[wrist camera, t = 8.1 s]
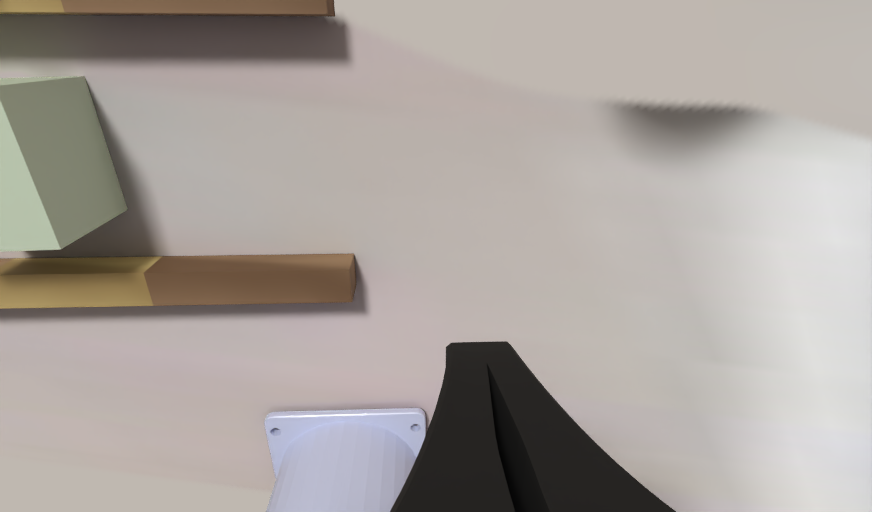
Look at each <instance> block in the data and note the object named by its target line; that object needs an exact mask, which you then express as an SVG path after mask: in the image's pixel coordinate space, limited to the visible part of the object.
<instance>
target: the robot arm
mask: <svg viewBox="0 0 872 512" xmlns="http://www.w3.org/2000/svg"><path fill="white" fill-rule="evenodd" d="M413 424H418V426H413ZM264 425H265V430H266V435H267V439H268V444H269V449H270V454H271V459H272V463H273V468H274V473H275V478H276V482H275V485H274V488H273V491H272V494H271V497H270V501H269V504H268V507H267V511H266V512H676V511H674V510H673V509H672V508H670V507H669V506H668V505H667V504H665V503H664V502H663V501H661V500H660V499H659V498H658V497H656V496H655V495H654V494H653V493H651V492H650V491H649V490H648V489H646V488H645V487H644V486H643V485H642V484H640V483H639V482H638V481H637V480H636V479H635V478H633V477H632V476H631V475H630V474H629V473H628V472H627V471H625V470H624V469H623V468H622V467H621V466H620V465H619V464H617V463H616V462H615V461H614V460H613V459H612V458H611V457H610V456H609V455H608V454H607V453H606V452H605V451H604V450H603V449H601V448H600V447H599V446H598V445H597V444H596V443H595V442H594V441H593V440H592V439H591V438H590V437H589V436H588V435H587V434H586V433H585V432H584V431H583V430H582V429H581V428H580V427H579V426H578V424H577V423H576V422H575V421H574V420H573V419H572V418H571V417H570V416H569V415H568V414H567V413H566V412H565V410H564V409H563V408H562V407H561V406H560V405H559V404H558V403H557V401H556V400H555V399H554V398H553V397H552V396H551V395H550V394H549V392H548V391H547V390H546V389H545V388H544V387H543V385H542V384H541V383H540V382H539V381H538V379H537V378H536V377H535V376H534V374H533V373H532V372H531V371H530V369H529V368H528V367H527V366H526V364H525V363H524V362H523V361H522V359H521V358H520V357H519V355H518V354H517V353H516V351H515V350H514V349H513V347H512V346H511V345H510V344H509V343H508V342H463V343H451V344H449V345H448V346H447V347H446V369H445V374H444V379H443V384H442V388H441V391H440V395H439V398H438V402H437V405H436V409H435V412H434V415H433V417H432V420H431V423H430V425H429V428H428V431H427V433H426V422H425V412H424V411H423V410H422V409H419V408H394V409H358V410H321V411H285V412H271V413H269V414H268V415H267V416H266V419H265V421H264ZM274 428H278V429H279V430H276V429H274Z"/></svg>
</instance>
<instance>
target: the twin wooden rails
mask: <svg viewBox="0 0 872 512" xmlns="http://www.w3.org/2000/svg"><path fill="white" fill-rule="evenodd" d="M0 14H64V15H210V16H335V11H334V0H0ZM355 288H356V274H355V261H354V254H300V255H228V256H156V257H84V258H12V259H0V309H1V308H57V307H112V306H167V305H222V304H277V303H333V302H352V301H353V297H354V292H355Z"/></svg>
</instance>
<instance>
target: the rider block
mask: <svg viewBox="0 0 872 512" xmlns="http://www.w3.org/2000/svg"><path fill="white" fill-rule="evenodd" d="M126 210H128V209H127V206H126V203H125V200H124V197H123V194H122V190H121V187H120V184H119V181H118V178H117V175H116V172H115V169H114V166H113V163H112V160H111V157H110V154H109V150H108V147H107V144H106V141H105V138H104V135H103V132H102V129H101V126H100V123H99V120H98V117H97V114H96V111H95V107H94V104H93V101H92V98H91V95H90V92H89V89H88V86H87V83H86V80H85V77H84V76H73V77H31V78H0V252H4V251H32V250H60V249H62V248H64V247H66V246H67V245H69V244H71V243H73V242H74V241H76V240H78V239H79V238H81V237H83V236H84V235H86V234H88V233H89V232H91V231H93V230H94V229H96V228H98V227H99V226H101V225H103V224H105V223H106V222H108V221H110V220H111V219H113V218H115V217H116V216H118V215H120V214H121V213H123V212H125V211H126Z"/></svg>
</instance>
